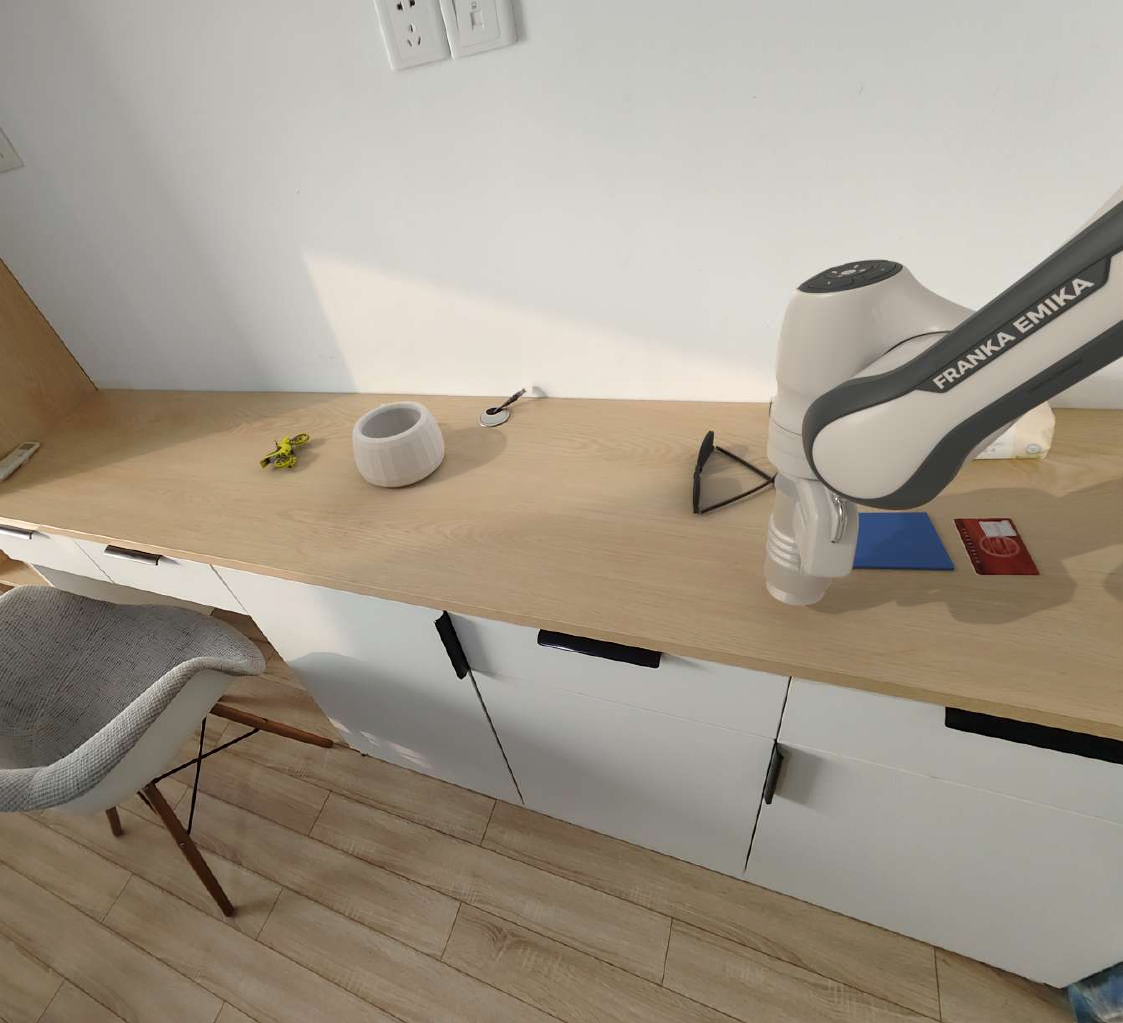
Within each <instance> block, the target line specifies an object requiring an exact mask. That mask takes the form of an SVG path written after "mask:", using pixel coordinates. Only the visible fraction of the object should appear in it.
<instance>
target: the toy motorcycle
mask: <svg viewBox="0 0 1123 1023" xmlns="http://www.w3.org/2000/svg"><path fill="white" fill-rule="evenodd" d="M310 439H311V437H310V434H309V433H306V432H301V433H298V434H296V435H295V436H293V437H292V438H291V439H290V437H289V436H284V437H283V438H282V439H281V441H279V442H277V440H276V439H274V442H275V447H276V450H275V451H273V452H271V453H268V454H266V455H265V456H264V457H263V458H262V459H261V460H260V461H259V465H260V466H261V468H262V469H265V468H266V467H267V466H269V465H270V464H271V465H274V467H275V468H276V469H278V470H279V469H280V470H281V469H284V468H285V469H286V468H288V469H292V468H293V467H294V465H295V464H296V462H297V453H296V451H295V448H294V446H301V445H305V443H307V442H308V441H310Z"/></svg>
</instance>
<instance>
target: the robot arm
mask: <svg viewBox="0 0 1123 1023" xmlns="http://www.w3.org/2000/svg"><path fill="white" fill-rule="evenodd" d="M778 338H779V339H778V344H777V350H776V359H775V367H774V368H775V369H774V375H775V380H776V382H777V391H776V393H775V395H774V396H773V395H772V396H771V397H770V398H769V403H768V418H769V420H768V421H769V422H768V427H767V428H768V430H767V439H766V447H765V448H766V449H765V455H766V458H767V459H768V461H769V462H770V463H771V465H773V466H774V467H775V468H776V469H777V472H779V471H780V472H781V473H782V474H783V475H784V476H785V477H786V478H788V479H790V480H791V481H793V482H795V484H796V487H797V491H798V494H799V497H800V502H798V501H797V503H796V504H795V510H794V515H793V520H792V527H793V531H794V535H795V538H796V542H797V546H798V550H799V554H800V558H799V564H798V567H799V571H800V575H801V577H803V578H818V577H819V578H833V579H835V578H836V579H837V578H838V579H839V578H840V579H841V578H845V577H847V576H849V575H850V574H851V573H852V571H853V568H852V567H853V562H854V556H855V551H856V544H857V538H858V530H859V515H858V513H859V509H858V505H860V506H862V507H868V508H873V509H877V510H883V511H884V510H885V511H907V510H913V509H916V508H919V507H922V506H924V505H926V504H928V503H929V502H931V501H932V500H934V499H935V498H937V496H939V494H941V492H943V490H944V489H946V487H948V485H950V484H951V483H952V481H954V480H955V478H956V477H957V475H958V474H959V473H961V471H963V469H964V468H966V467H967V466H968V465H969V464H970V463H971V462H973V461H974V460H975V459H976V458H977V457H978V456H980V454H982V453H983V452H984V451H985V450H986V449H988V448H989V447H990V446H992V444H993V443H995V441H997V440H998V439H999V438H1000V437H1002V436H1003V435H1004V434H1005V433H1007V431H1008V430H1010V429H1011V428H1012V427H1013V426H1015V424H1017V423H1018V422H1019V421H1020V420H1021V419H1022V418H1023V417H1024V416H1025V415H1026V414H1027V413H1029V412H1030V411H1032V410H1033V409H1035V408H1037V407H1039V406H1041V405H1042V404H1044V403H1046V402H1047V401H1049V400H1051V399H1053V398H1054V397H1056V396H1059V394H1061V393H1063V392H1065V391H1066V390H1068V389H1070V388H1071V387H1073V386H1075V385H1076V384H1079V383H1080V382H1081V381H1084V380H1085V379H1087V378H1089V377H1090V376H1092V375H1094V374H1096V373H1097V372H1099V371H1101V370H1103V369H1104V368H1106V367H1108V366H1109V365H1111V364H1113V363H1114V362H1117V361H1118V360H1120V359H1121V358H1123V183H1122V184H1121V185H1120V186H1119V188H1118V189H1117V190H1115V192H1113V194H1111V195H1110V197H1109V198H1108V199H1107V200H1106V201H1105V202H1104V203H1103V204H1101V206H1100V207H1099V208H1098V209H1097V210H1096V211H1095V212H1094V213H1093V214H1092V215H1091V216H1090V217H1088V219H1087V220H1086V221H1085V222H1084V223H1083V224H1081V226H1080V227H1078V228H1077V229H1076V230H1075V232H1073V233H1072V234H1071V235H1070V236H1069V237H1068V238H1066V240H1065V241H1063V242H1062V243H1061V244H1060V245H1059V246H1058V247H1057V248H1056V249H1055V250H1054V251H1052V252H1051V253H1050V254H1049V255H1048V256H1046V257H1045V259H1043V260H1042V261H1040V263H1038V264H1037V265H1035V267H1034V268H1032V269H1031V270H1029V271H1028V272H1027V273H1026V274H1024V275H1023V276H1022V277H1021V278H1019V279H1018V280H1016V281H1015V282H1014V283H1013V284H1011V285H1010V286H1009V287H1007V288H1006V289H1005V290H1003V291H1002V292H1001V293H999V294H998V295H996V296H995V297H994V298H993V299H991V300H990V301H989V302H987V303H986V304H985V305H983V306H982V307H980V308H979V309H978V310H975V309H971V308H969V307H966V306H963V305H961V304H959V303H956V302H954V301H952V300H949V299H947V298H945V297H943V296H941V295H939V294H938V293H935V292H934V291H932V290H931V289H929V288H927V287H926V286H925V285H923V284H922V283H921V282H920V281H919V280H918V279H917V278H916V277H915V276H914V274H913V273H912V272H911V271H910V269H909V268H908V267H907V266H906V265H904V264H903V263H900V262H897V261H893V260H888V259H865V260H858V261H851V262H847V263H844V264H840V265H836V266H832V267H829V268H827V269H825V270H822V271H820V272H819V273H817V274H815V275H813V276H811V277H809V278H808V279H806V280H805V281H803V282H802V283H801V284H799V286H798V287H796V288H795V289H794V291H793V292H792V294H791V296H790V298H789V300H788V303H787V306H786V309H785V312H784V316H783V319H782V322H781V327H780V332H779V337H778Z"/></svg>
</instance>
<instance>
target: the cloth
mask: <svg viewBox="0 0 1123 1023" xmlns="http://www.w3.org/2000/svg"><path fill="white" fill-rule="evenodd" d="M858 515H859V530H858V538H857V544H856V551H855V556H854V562H853V567H852V569H872V570H873V569H876V570H877V569H878V570H879V569H880V570H922V571H924V570H925V571H928V570H929V571H930V570H931V571H955V570H956V567H955V565H954V563H953V561H952V559H951V557H950V555H949V553H948V552H947V549H946V547H945V545H944V543H943V542H942V539H941V537H940V536H939V534H938V532H937V530H936V527H935V526H934V524H933V522H932V520H931V519H930V516H929V514H928V513H927V511H919V512H918V511H912V512H911V511H908V512H907V511H901V512H900V511H899V512H898V511H897V512H893V511H892V512H889V511H888V512H884V511H883V512H858Z"/></svg>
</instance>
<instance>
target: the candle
mask: <svg viewBox="0 0 1123 1023" xmlns="http://www.w3.org/2000/svg"><path fill="white" fill-rule="evenodd" d="M777 472H778V471H777ZM777 472H776V473H777ZM774 487H775V489H776V490H775V491H776V492H775V497H774V505H773V506H774V507H773V511H772V512H771V513H770V517H769V519H768V527H767V535H766V543H765V552H766V557H765V559H764V560H765V562H764V564H763V575H764V577H765V587H766V589H767V591H768V593H769V594H770V595H771V596H772V597H773V598H774V599H776V600H777V601H779V602H781V603H784V604H787V605H790V606H796V607H797V606H798V607H802V606H811V605H814V604H817V603H819V602H820V601H821V600H822V599H823V598H824V596H825V594H826V590H827V589H829V587H830V586H831V585H832V583H833V579H834V578H819V577H818V578H803V577H801V575H800V571H799V567H798V564H799V558H800V554H799V550H798V546H797V542H796V538H795V535H794V531H793V527H792V520H793V515H794V510H795V504H796V503H797V501H798V502H800V497H799V494H798V491H797V487H796V484H795V482H793V481H791V480H790V479H788V478H786V477H785V476H784V475H783V474H782V473H781V472H780V471H779V472H778V473H777V475H776V477H775V484H774Z"/></svg>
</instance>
